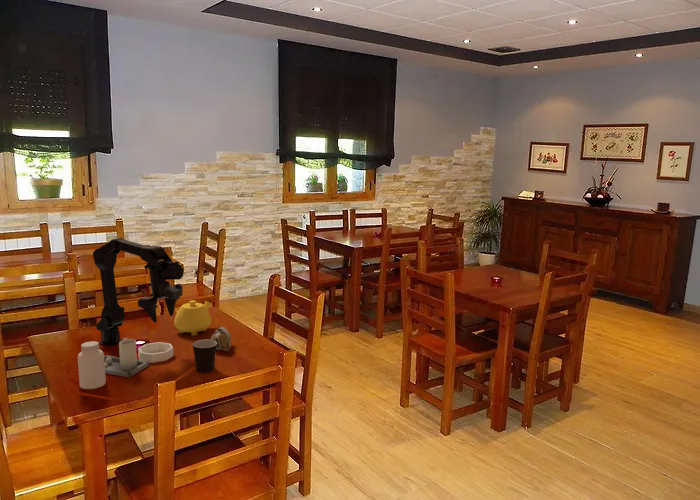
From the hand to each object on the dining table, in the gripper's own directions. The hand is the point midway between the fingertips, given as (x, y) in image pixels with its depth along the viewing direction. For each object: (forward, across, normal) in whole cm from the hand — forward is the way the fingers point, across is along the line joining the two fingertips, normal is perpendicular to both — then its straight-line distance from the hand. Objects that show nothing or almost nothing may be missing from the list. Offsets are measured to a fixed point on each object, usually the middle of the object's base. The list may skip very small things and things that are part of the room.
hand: (163, 319), depth 208 cm
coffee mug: (+17, -4, -21) cm, 28 cm away
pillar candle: (+13, -19, +1) cm, 23 cm away
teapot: (+14, +29, +8) cm, 33 cm away
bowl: (+14, -5, +2) cm, 15 cm away
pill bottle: (+14, -33, +3) cm, 36 cm away
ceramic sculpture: (+16, +14, -14) cm, 26 cm away
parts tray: (+14, -20, +6) cm, 25 cm away
